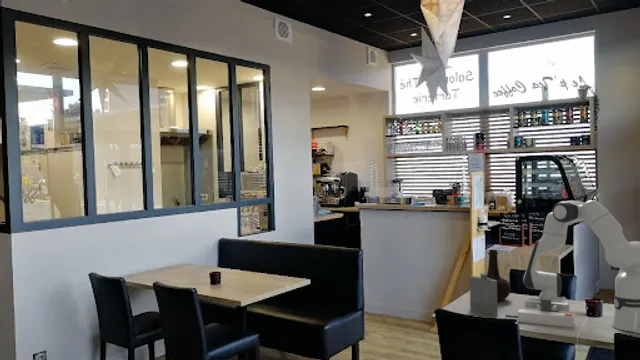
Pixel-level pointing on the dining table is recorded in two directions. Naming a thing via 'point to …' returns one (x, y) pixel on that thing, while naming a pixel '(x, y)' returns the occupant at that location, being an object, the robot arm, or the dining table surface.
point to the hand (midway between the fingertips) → (545, 308)
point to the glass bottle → (497, 276)
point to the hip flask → (483, 294)
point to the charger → (546, 304)
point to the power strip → (544, 317)
